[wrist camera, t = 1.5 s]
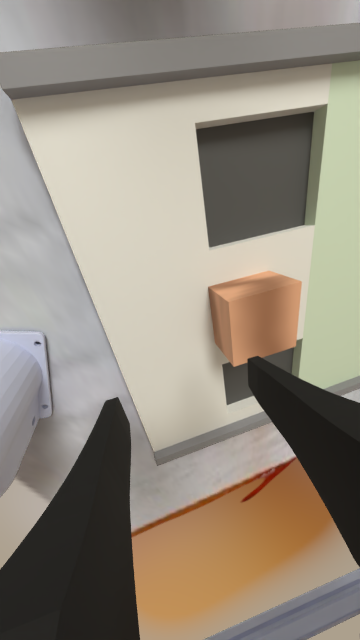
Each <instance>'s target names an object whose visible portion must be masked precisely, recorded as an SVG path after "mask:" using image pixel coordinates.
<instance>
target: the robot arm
mask: <svg viewBox="0 0 360 640" xmlns="http://www.w3.org/2000/svg"><path fill="white" fill-rule="evenodd" d="M36 341H38V342H40V343H41V344H37V343H36ZM247 362H248V386H249V388H250V390H251V391H252V393H253V395H254V397H255V398H256V400H257V402H258V403H259V405H260V406H261V407H262V409H263V410H264V411H265V413H266V414H267V415H268V417H269V418H270V420H271V421H272V422H273V424H274V425H275V426H276V428H277V429H278V430H279V432H280V433H281V434H282V436H283V437H284V438H285V440H286V441H287V443H288V444H289V445H290V447H291V448H292V450H293V452H294V453H295V455H296V456H297V458H298V460H299V461H300V463H301V465H302V466H303V468H304V469H305V471H306V473H307V474H308V476H309V478H310V479H311V481H312V483H313V485H314V486H315V488H316V490H317V491H318V493H319V495H320V497H321V499H322V500H323V502H324V503H325V506H326V507H327V509H328V511H329V513H330V514H331V516H332V518H333V520H334V522H335V523H336V525H337V528H338V529H339V531H340V533H341V535H342V537H343V539H344V540H345V542H346V544H347V546H348V548H349V550H350V552H351V554H352V556H353V558H354V559H355V561H356V562H357V564H358V565H359V567H360V403H358V402H355V401H352V400H349V399H347V398H344V397H341V396H339V395H336V394H334V393H331V392H329V391H326V390H324V389H322V388H319V387H317V386H315V385H313V384H311V383H308V382H306V381H304V380H302V379H300V378H298V377H296V376H294V375H292V374H290V373H288V372H286V371H285V370H283V369H281V368H279V367H277V366H275V365H274V364H272V363H270V362H268V361H266V360H265V359H263V358H261V357H259V356H255V357H251V358H248V359H247ZM45 405H47V406H45ZM51 415H52V401H51V391H50V381H49V371H48V361H47V351H46V341H45V335H44V334H43V333H41V332H32V331H0V497H1V496H2V495H3V494H4V493H5V491H6V490H7V489H8V488H9V486H10V485H11V483H12V482H13V480H14V478H15V476H16V474H17V472H18V469H19V467H20V464H21V462H22V459H23V457H24V455H25V452H26V450H27V447H28V445H29V442H30V440H31V438H32V435H33V433H34V430H35V428H36V425H37V423H38V421H39V418H47V417H50V416H51ZM130 465H131V436H130V424H129V421H128V419H127V416H126V414H125V412H124V410H123V407H122V405H121V403H120V401H119V398H118V397H117V398H114V399H110V400H107V401H106V402H105V403H104V406H103V408H102V410H101V413H100V415H99V417H98V419H97V421H96V424H95V426H94V428H93V430H92V432H91V434H90V436H89V438H88V440H87V442H86V444H85V446H84V448H83V450H82V451H81V453H80V455H79V457H78V459H77V461H76V462H75V464H74V466H73V468H72V469H71V471H70V473H69V474H68V476H67V478H66V479H65V481H64V483H63V484H62V486H61V487H60V489H59V490H58V492H57V494H56V495H55V496H54V498H53V499H52V501H51V502H50V504H49V505H48V507H47V508H46V510H45V511H44V513H43V514H42V516H41V517H40V518H39V520H38V521H37V523H36V524H35V525H34V527H33V528H32V529H31V531H30V532H29V533H28V535H27V536H26V537H25V539H24V540H23V541H22V542H21V544H20V545H19V546H18V548H17V549H16V550H15V552H14V553H13V554H12V556H11V557H10V558H9V559H8V561H7V562H6V563H5V565H4V566H3V567H2V568H1V570H0V640H140V635H139V625H138V614H137V604H136V594H135V581H134V569H133V554H132V539H131V522H130ZM358 614H360V568H359V569H357V570H355V571H353V572H350V573H348V574H346V575H344V576H342V577H339V578H337V579H335V580H333V581H331V582H329V583H326V584H324V585H322V586H320V587H318V588H315V589H313V590H311V591H309V592H307V593H304V594H302V595H300V596H298V597H296V598H293V599H291V600H289V601H287V602H285V603H283V604H281V605H278V606H276V607H274V608H272V609H269V610H267V611H265V612H263V613H261V614H259V615H257V616H255V617H252V618H250V619H248V620H245V621H243V622H241V623H239V624H237V625H234V626H232V627H230V628H228V629H226V630H223V631H221V632H219V633H217V634H215V635H213V636H210V637H208V638H206V639H204V640H307V639H309V638H311V637H313V636H315V635H317V634H319V633H321V632H323V631H325V630H327V629H329V628H331V627H334V626H336V625H338V624H340V623H342V622H344V621H346V620H348V619H350V618H352V617H354V616H356V615H358Z"/></svg>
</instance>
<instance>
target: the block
mask: <svg viewBox="0 0 360 640" xmlns="http://www.w3.org/2000/svg"><path fill="white" fill-rule="evenodd" d="M301 286H302V281H299V280H296V279H293V278H290V277H287V276H284V275H281V274H278V273H275V272H272V271H265V272H261V273H258V274H254V275H250V276H246V277H243V278H239V279H235V280H231V281H228V282H224V283H220V284H216V285H213V286H209V287H208V291H209V299H210V307H211V315H212V323H213V331H214V339H215V344H216V345H217V346H218V347H219V349H220V350H221V351H222V353H223V354H224V355H225V356H226V358H227V359H228V360H229V362H230V363H231V364H232V365H233V367H235V366H238V365H241V364H244V363H247V359H248V358H251V357H255V356H259V357H261V358H262V357H265V356H268V355H271V354H274V353H277V352H281V351H284V350H287V349H290V348H293V347H296V341H297V330H298V319H299V308H300V297H301Z"/></svg>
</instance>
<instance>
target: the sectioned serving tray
mask: <svg viewBox="0 0 360 640" xmlns="http://www.w3.org/2000/svg"><path fill="white" fill-rule="evenodd" d="M0 85H1V88H2V90H3V91H4V92H5V93H6V94H7V95H8V96H9V98H10V99H11V100H12V102H13V105H14V107H15V110H16V112H17V115H18V117H19V120H20V122H21V125H22V127H23V130H24V132H25V135H26V137H27V139H28V142H29V144H30V147H31V149H32V152H33V154H34V157H35V159H36V162H37V164H38V167H39V169H40V172H41V174H42V177H43V179H44V181H45V184H46V186H47V189H48V191H49V194H50V196H51V199H52V201H53V204H54V206H55V209H56V211H57V214H58V216H59V219H60V221H61V224H62V226H63V228H64V231H65V233H66V236H67V238H68V241H69V243H70V246H71V248H72V251H73V253H74V256H75V258H76V261H77V263H78V266H79V268H80V271H81V273H82V275H83V278H84V280H85V283H86V285H87V288H88V290H89V293H90V295H91V298H92V300H93V303H94V305H95V308H96V310H97V313H98V315H99V318H100V320H101V322H102V325H103V327H104V330H105V332H106V335H107V337H108V340H109V342H110V345H111V347H112V350H113V352H114V355H115V357H116V360H117V362H118V364H119V367H120V369H121V372H122V374H123V377H124V379H125V382H126V384H127V387H128V389H129V392H130V394H131V397H132V399H133V402H134V404H135V407H136V409H137V411H138V414H139V416H140V419H141V421H142V424H143V426H144V429H145V431H146V434H147V436H148V439H149V441H150V444H151V446H152V449H153V451H154V456H155V461H156V464H157V466H158V465H161V464H164V463H166V462H169V461H171V460H174V459H177V458H179V457H182V456H184V455H187V454H190V453H192V452H195V451H197V450H200V449H203V448H205V447H208V446H211V445H213V444H216V443H218V442H221V441H224V440H226V439H229V438H231V437H234V436H237V435H239V434H242V433H245V432H247V431H250V430H252V429H255V428H258V427H260V426H263V425H265V424H268V423H271V422H272V421H271V420H270V418H269V417H268V415H267V414H266V413H265V411H264V410H263V409H262V407H261V406H260V405H259V403H258V402H257V400H256V398H255V397H254V395H253V393H252V391H251V390H250V388H249V386H248V362H247V363H244V364H241V365H238V366H235V367H233V365H232V364H231V363H230V362H229V360H228V359H227V358H226V356H225V355H224V354H223V353H222V351H221V350H220V349H219V347H218V346H217V345H216V344H215V339H214V331H213V323H212V315H211V307H210V299H209V291H208V287H209V286H213V285H216V284H220V283H224V282H228V281H231V280H235V279H239V278H243V277H246V276H250V275H254V274H258V273H261V272H265V271H272V272H275V273H278V274H281V275H284V276H287V277H290V278H293V279H296V280H299V281H302V286H301V297H300V308H299V319H298V330H297V341H296V347H293V348H290V349H287V350H284V351H281V352H277V353H274V354H271V355H268V356H265V357H262V358H263V359H265V360H266V361H268V362H270V363H272V364H274V365H275V366H277V367H279V368H281V369H283V370H285V371H286V372H288V373H290V374H292V375H294V376H296V377H298V378H300V379H302V380H304V381H306V382H308V383H311V384H313V385H315V386H317V387H319V388H322V389H324V390H326V391H329V392H331V393H334V394H336V395H339V396H341V395H344V394H346V393H349V392H352V391H354V390H357V389H359V388H360V23H351V24H339V25H327V26H315V27H303V28H290V29H278V30H266V31H254V32H242V33H230V34H218V35H206V36H193V37H181V38H169V39H157V40H145V41H133V42H121V43H108V44H96V45H84V46H72V47H60V48H48V49H36V50H24V51H11V52H0Z"/></svg>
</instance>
